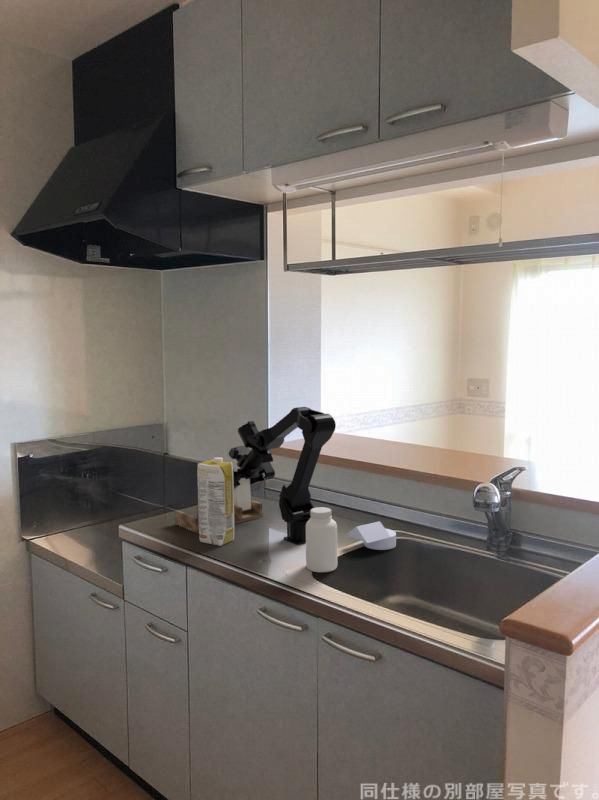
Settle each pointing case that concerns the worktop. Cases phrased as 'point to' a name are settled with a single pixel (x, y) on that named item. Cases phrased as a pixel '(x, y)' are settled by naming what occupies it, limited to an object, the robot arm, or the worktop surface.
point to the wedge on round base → (374, 536)
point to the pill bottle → (321, 541)
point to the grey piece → (242, 493)
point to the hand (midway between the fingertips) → (237, 487)
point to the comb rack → (239, 516)
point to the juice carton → (216, 501)
